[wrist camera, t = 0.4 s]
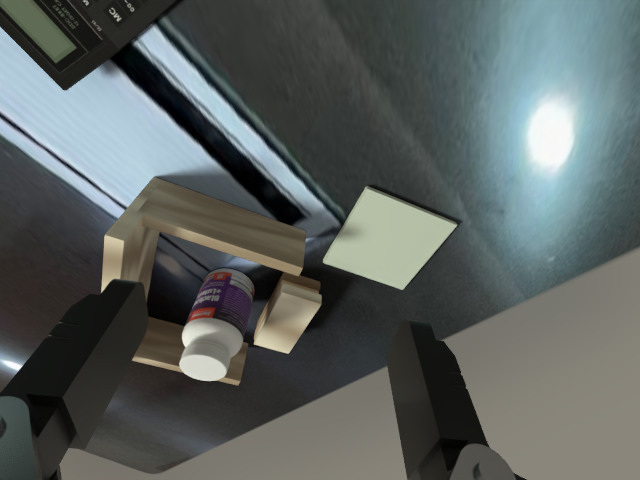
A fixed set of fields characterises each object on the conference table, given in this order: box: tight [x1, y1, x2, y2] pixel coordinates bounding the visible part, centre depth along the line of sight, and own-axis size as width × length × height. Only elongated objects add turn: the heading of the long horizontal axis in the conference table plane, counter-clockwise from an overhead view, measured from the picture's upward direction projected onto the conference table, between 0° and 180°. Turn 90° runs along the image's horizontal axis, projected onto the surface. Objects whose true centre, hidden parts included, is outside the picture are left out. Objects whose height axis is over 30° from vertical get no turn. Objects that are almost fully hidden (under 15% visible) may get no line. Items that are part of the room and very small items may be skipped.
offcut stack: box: [254, 272, 322, 354], centre depth 37 cm, size 10×4×4 cm, turn 156°
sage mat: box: [323, 186, 457, 290], centre depth 32 cm, size 9×9×1 cm
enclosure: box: [101, 177, 306, 385], centre depth 33 cm, size 20×14×8 cm
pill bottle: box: [179, 268, 254, 381], centre depth 33 cm, size 5×5×10 cm
